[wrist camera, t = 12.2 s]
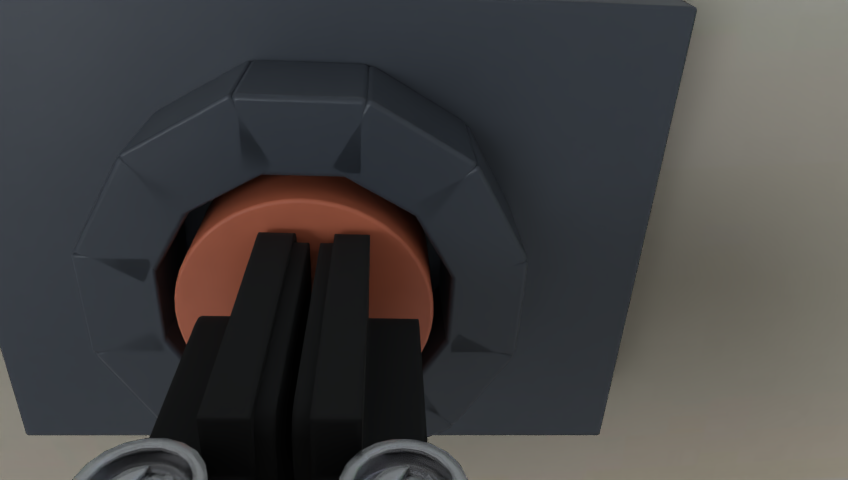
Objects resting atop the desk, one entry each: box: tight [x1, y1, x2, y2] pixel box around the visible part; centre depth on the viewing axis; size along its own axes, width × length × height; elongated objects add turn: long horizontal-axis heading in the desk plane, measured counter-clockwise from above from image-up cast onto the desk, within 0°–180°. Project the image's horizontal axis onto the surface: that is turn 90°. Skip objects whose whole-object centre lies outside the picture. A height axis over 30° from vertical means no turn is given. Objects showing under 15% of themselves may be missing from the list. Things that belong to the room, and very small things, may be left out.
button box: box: [0, 0, 697, 437], centre depth 13 cm, size 12×9×4 cm
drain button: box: [174, 175, 433, 353], centre depth 12 cm, size 4×4×2 cm
